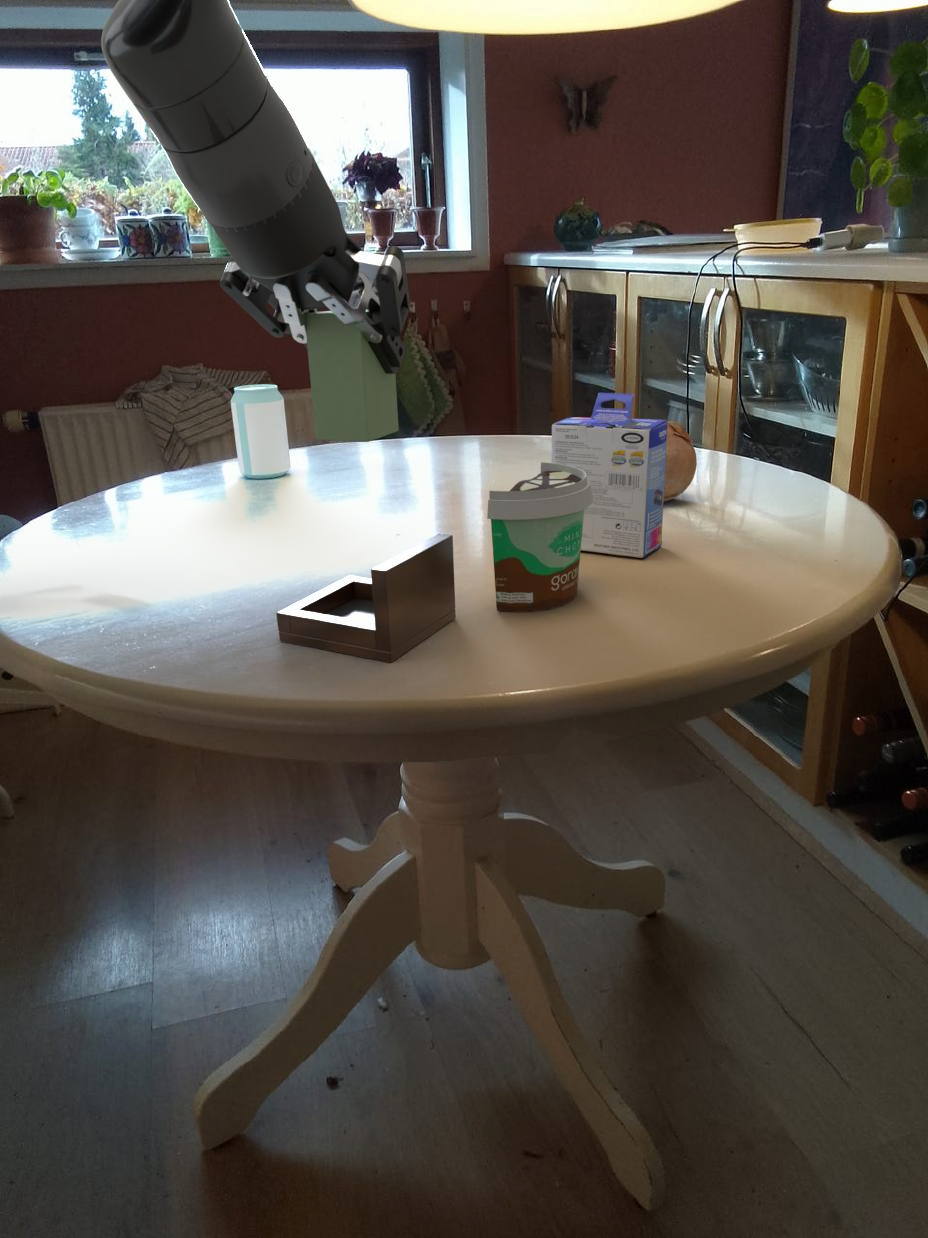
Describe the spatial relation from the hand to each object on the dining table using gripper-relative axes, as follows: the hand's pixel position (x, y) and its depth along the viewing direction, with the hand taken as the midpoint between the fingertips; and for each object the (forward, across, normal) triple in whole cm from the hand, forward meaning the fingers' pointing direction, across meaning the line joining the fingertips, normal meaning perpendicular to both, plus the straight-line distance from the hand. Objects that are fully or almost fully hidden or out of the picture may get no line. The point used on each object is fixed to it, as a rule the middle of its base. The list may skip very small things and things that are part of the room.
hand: (364, 363), depth 68 cm
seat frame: (+9, -2, +18) cm, 20 cm away
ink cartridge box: (+28, -14, -1) cm, 31 cm away
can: (+43, +40, -15) cm, 60 cm away
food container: (+17, -13, +10) cm, 24 cm away
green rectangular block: (+2, 0, +5) cm, 5 cm away
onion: (+42, -14, -15) cm, 47 cm away
